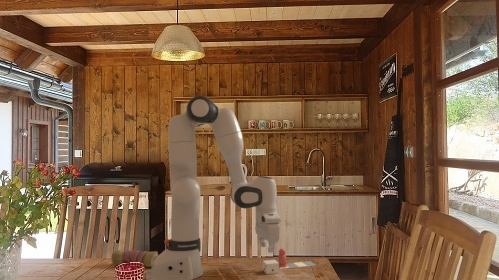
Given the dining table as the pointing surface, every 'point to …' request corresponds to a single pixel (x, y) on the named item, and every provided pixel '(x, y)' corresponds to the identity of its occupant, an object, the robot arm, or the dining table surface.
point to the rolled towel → (133, 257)
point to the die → (270, 266)
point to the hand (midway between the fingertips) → (266, 249)
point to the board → (298, 264)
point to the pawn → (282, 258)
